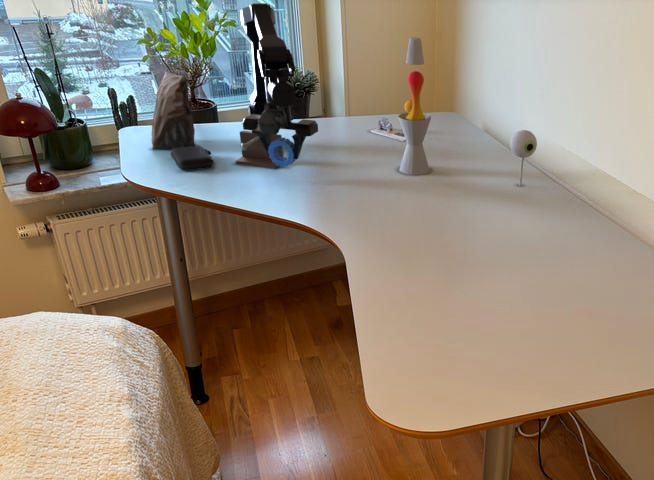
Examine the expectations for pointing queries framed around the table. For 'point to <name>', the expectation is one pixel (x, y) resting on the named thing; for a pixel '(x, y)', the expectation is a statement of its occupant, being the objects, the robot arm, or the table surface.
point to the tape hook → (256, 151)
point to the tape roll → (275, 155)
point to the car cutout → (388, 130)
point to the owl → (172, 115)
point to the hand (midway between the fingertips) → (283, 157)
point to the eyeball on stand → (523, 146)
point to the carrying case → (192, 158)
